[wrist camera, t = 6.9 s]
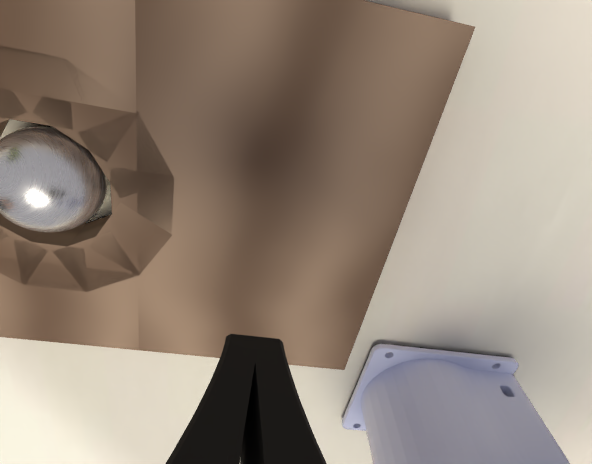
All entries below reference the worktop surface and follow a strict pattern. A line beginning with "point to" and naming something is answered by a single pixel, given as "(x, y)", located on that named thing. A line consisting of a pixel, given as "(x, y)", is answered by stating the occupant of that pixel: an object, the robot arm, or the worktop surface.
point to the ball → (48, 180)
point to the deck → (221, 166)
